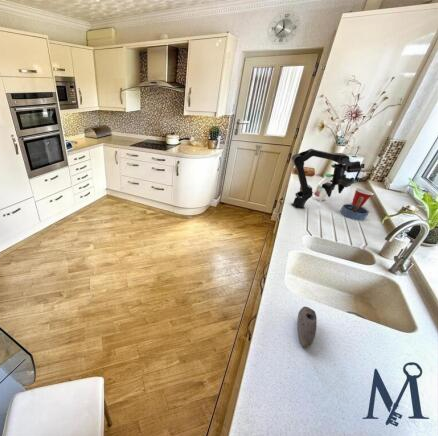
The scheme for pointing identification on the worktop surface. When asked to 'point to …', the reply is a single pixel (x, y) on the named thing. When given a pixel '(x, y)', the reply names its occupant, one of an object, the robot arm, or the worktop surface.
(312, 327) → the perforated stone tool
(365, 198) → the plastic cup
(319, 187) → the milk bottle
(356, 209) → the muddler
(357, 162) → the robot arm
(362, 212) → the bowl
